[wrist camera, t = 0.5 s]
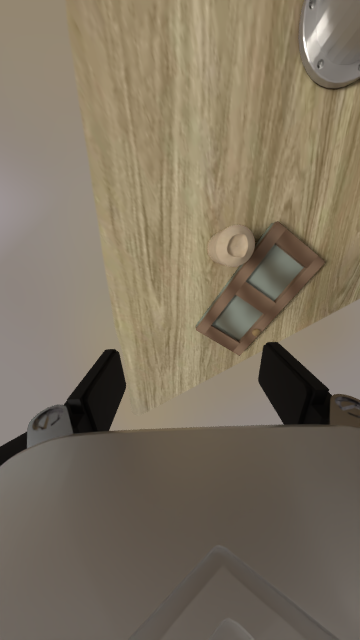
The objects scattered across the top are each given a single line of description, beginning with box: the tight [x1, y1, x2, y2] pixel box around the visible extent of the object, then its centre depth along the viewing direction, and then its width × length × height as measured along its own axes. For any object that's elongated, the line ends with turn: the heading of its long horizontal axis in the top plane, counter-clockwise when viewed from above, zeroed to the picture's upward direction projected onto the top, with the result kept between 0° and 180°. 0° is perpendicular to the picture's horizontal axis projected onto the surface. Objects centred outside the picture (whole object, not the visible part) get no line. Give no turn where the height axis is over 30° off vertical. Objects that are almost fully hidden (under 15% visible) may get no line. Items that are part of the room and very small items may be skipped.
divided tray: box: [196, 221, 325, 356], centre depth 34 cm, size 24×12×3 cm, turn 147°
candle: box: [208, 225, 255, 267], centre depth 27 cm, size 6×6×10 cm
